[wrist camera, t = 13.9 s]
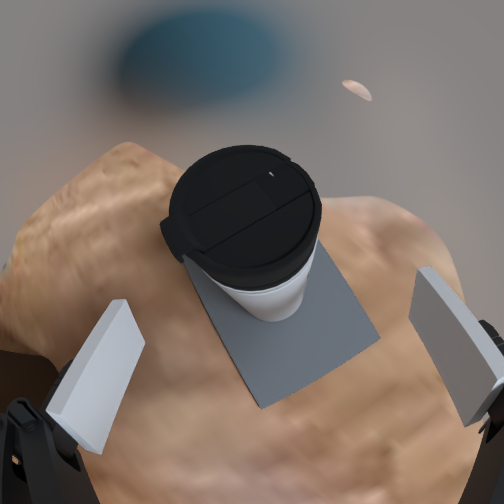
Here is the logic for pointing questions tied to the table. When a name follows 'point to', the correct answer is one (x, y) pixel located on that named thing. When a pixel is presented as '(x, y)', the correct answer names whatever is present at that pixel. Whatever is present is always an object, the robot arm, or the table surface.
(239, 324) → the rubber mat
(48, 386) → the olive oil
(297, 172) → the travel mug
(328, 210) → the table surface
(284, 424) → the table surface
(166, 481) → the table surface
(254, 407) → the table surface
